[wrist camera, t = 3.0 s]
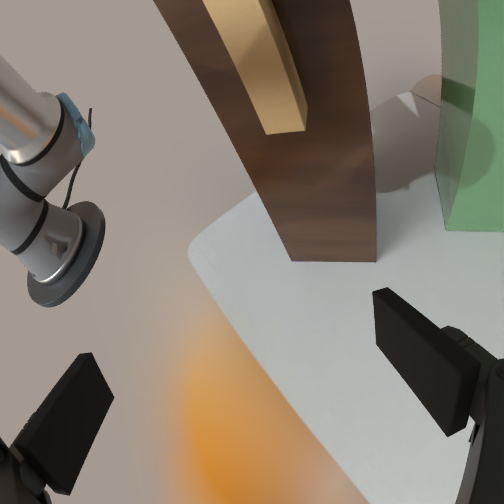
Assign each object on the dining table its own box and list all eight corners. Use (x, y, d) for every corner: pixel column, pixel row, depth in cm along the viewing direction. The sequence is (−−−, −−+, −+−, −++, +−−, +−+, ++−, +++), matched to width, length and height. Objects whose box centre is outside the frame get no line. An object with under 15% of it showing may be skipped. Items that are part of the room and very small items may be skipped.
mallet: (156, -94, 7) (109, -87, 5) (240, -127, 5) (212, -137, 3) (259, 103, 20) (246, 149, 18) (325, 95, 18) (322, 141, 16)
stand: (300, 195, 42) (201, -43, 16) (375, 193, 38) (326, -73, 12) (291, 261, 37) (143, -15, 11) (376, 262, 34) (328, -71, 8)
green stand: (434, 169, 36) (425, -73, 11) (495, 172, 33) (520, -52, 7) (445, 231, 32) (469, -65, 6) (513, 232, 28) (583, -23, 2)
